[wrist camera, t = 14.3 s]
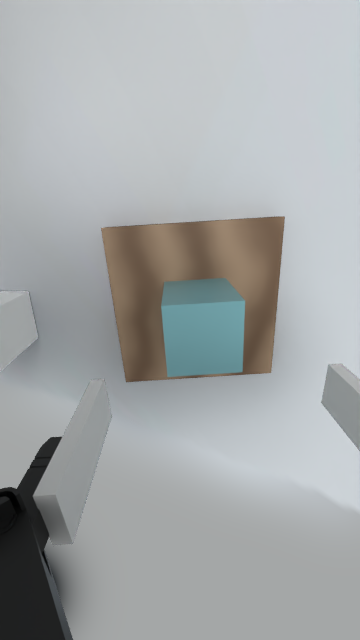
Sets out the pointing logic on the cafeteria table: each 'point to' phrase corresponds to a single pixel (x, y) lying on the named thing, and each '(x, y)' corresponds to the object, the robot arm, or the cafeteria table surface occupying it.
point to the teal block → (202, 327)
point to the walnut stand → (192, 264)
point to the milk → (15, 325)
